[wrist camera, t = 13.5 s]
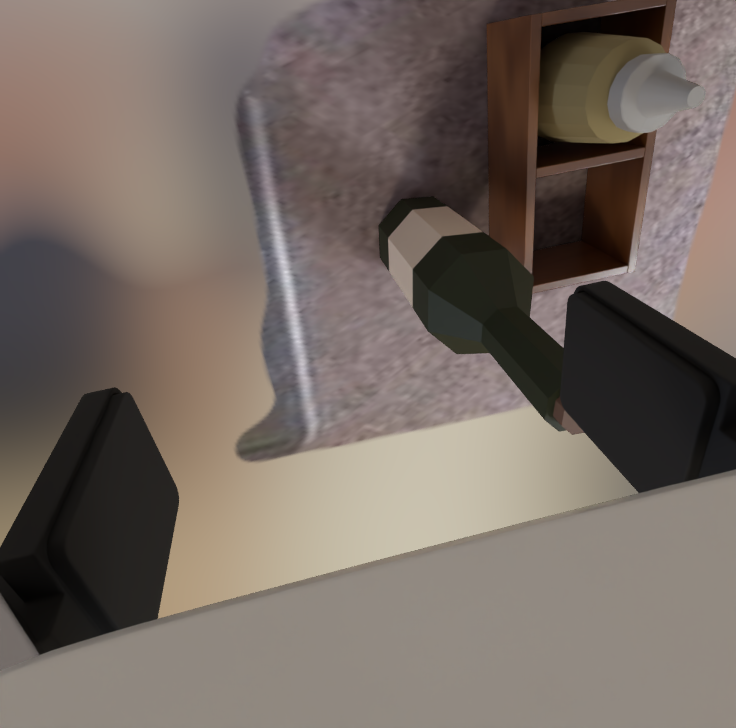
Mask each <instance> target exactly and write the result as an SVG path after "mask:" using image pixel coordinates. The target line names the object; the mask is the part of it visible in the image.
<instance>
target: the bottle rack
mask: <svg viewBox="0 0 736 728" xmlns="http://www.w3.org/2000/svg"><path fill="white" fill-rule="evenodd" d="M676 1H677V0H617V1H611V2H605V3H599V4H593V5H587V6H581V7H575V8H569V9H563V10H557V11H551V12H545V13H539V14H533V15H528V16H523V17H518V18H513V19H508V20H503V21H498V22H494V23H489V24H487V89H488V174H489V236H490V237H491V238H492V239H494V240H495V241H496V242H498V243H499V244H501V245H502V246H503V247H505V248H506V249H507V250H508V251H509V252H510V253H511V254H512V255H513V256H514V257H515V258H516V259H517V260H518V261H519V262H520V263H521V264H522V265H523V266H524V267H525V268H526V269H527V270H528V271H529V272H530V273H531V274H532V275H533V276H534V282H533V291H532V294H533V293H537V292H542V291H547V290H551V289H556V288H560V287H565V286H570V285H574V284H579V283H583V282H588V281H593V280H597V279H602V278H606V277H611V276H616V275H620V274H625V273H630V272H634V271H635V267H636V261H637V254H638V248H639V241H640V235H641V228H642V222H643V215H644V209H645V202H646V196H647V189H648V183H649V176H650V170H651V163H652V157H653V150H654V144H655V137H656V131H657V129H656V130H655V131H653V132H648V133H643V134H641V135H639V136H637V137H635V138H633V139H632V140H630V141H628V142H620V143H576V142H558V143H552V144H547V145H542V146H537V131H538V104H539V77H540V50H541V27H543V26H549V25H555V24H560V23H566V22H572V21H578V20H584V19H590V18H596V17H601V27H600V34H610V35H621V36H631V37H642V38H648V39H650V40H652V41H654V42H656V43H658V44H660V45H662V47H663V49H664V50H665V52H666V53H669V47H670V40H671V34H672V27H673V21H674V14H675V8H676ZM586 168H588V172H587V183H586V194H585V205H584V216H583V227H582V238H581V241H577V242H572V243H567V244H562V245H558V246H553V247H548V248H543V249H539V250H534V251H533V239H534V212H535V185H536V178H540V177H545V176H550V175H555V174H560V173H565V172H570V171H575V170H580V169H586Z"/></svg>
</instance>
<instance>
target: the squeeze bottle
mask: <svg viewBox="0 0 736 728" xmlns="http://www.w3.org/2000/svg"><path fill="white" fill-rule="evenodd" d="M704 98H705V89H704V87H702V86H700V85H698V84H695V83H693V82H690V81H688V80H686V71H685V68H684V66H683V65H682V63H681V61H680V59H679V58H677V57H675V56H673V55H671V54H670V53H666V52H665V50H664V49H663V47H662V45H660V44H658V43H656V42H654V41H652V40H650V39H648V38H642V37H631V36H621V35H610V34H600V33H590V32H577V33H565V34H564V35H562V36H560V37H558V38H557V39H555V40H553V41H551V42H550V43H548V44H547V45H546V46H545V47H544V48H543V49H542V50H541V51H540V77H539V104H538V131H537V135H538V136H539V137H542V138H544V139H547V140H549V141H552V142H576V143H620V142H628V141H630V140H632V139H633V138H635V137H637V136H639V135H641V134H643V133H648V132H653V131H655V130H656V129H658V128H660V127H662V126H664V125H665V124H666V123H667V122H668V121H669V120H670V119H671V118H672V117H673V116H674V114H675V113H676V112H678V111H683V110H687V109H692V108H696V107H698V106H699V105H700V104H701V103H702V102H703V100H704Z"/></svg>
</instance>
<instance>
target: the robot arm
mask: <svg viewBox="0 0 736 728" xmlns="http://www.w3.org/2000/svg"><path fill="white" fill-rule="evenodd" d="M560 400H561V403H562V406H563V408H564V410H565V411H566V412H567V414H568V415H569V416H570V417H571V418H572V419H573V420H574V421H575V422H576V424H577V425H578V426H579V427H580V428H581V429H582V430H583V431H584V432H585V433H586V435H587V436H588V437H589V438H590V439H591V440H592V441H593V442H594V444H595V445H596V446H597V447H598V448H599V449H600V450H601V451H602V452H603V454H604V455H605V456H606V457H607V458H608V459H609V460H610V461H611V462H612V464H613V465H614V466H615V467H616V468H617V469H618V470H619V471H620V472H621V473H622V475H623V476H624V477H625V478H626V479H627V480H628V481H629V483H631V485H632V486H633V487H634V488H635V489H636V490H637V491H638V494H634V495H630V496H626V497H622V498H619V499H614V500H610V501H606V502H602V503H598V504H594V505H591V506H587V507H583V508H579V509H575V510H571V511H567V512H563V513H559V514H555V515H551V516H547V517H543V518H539V519H535V520H531V521H527V522H523V523H520V524H516V525H512V526H508V527H504V528H501V529H497V530H493V531H489V532H485V533H481V534H477V535H473V536H469V537H465V538H462V539H458V540H454V541H450V542H446V543H442V544H438V545H434V546H430V547H427V548H423V549H419V550H415V551H411V552H407V553H404V554H400V555H396V556H392V557H388V558H384V559H380V560H376V561H373V562H369V563H365V564H361V565H357V566H354V567H350V568H346V569H342V570H338V571H335V572H331V573H327V574H323V575H320V576H316V577H312V578H308V579H305V580H301V581H297V582H293V583H289V584H285V585H282V586H278V587H274V588H270V589H267V590H263V591H259V592H255V593H251V594H248V595H244V596H240V597H236V598H233V599H229V600H225V601H222V602H218V603H214V604H210V605H206V606H203V607H199V608H195V609H192V610H188V611H185V612H181V613H177V614H174V615H170V616H167V617H163V618H159V619H157V618H158V613H159V608H160V602H161V597H162V591H163V586H164V581H165V576H166V570H167V564H168V559H169V554H170V548H171V543H172V538H173V532H174V527H175V521H176V516H177V511H178V505H179V495H178V491H177V487H176V485H175V483H174V481H173V478H172V477H171V474H170V472H169V470H168V468H167V466H166V464H165V462H164V460H163V458H162V456H161V454H160V452H159V450H158V448H157V446H156V444H155V442H154V440H153V438H152V436H151V434H150V432H149V430H148V428H147V425H146V423H145V422H144V419H143V417H142V415H141V413H140V411H139V409H138V407H137V405H136V403H135V401H134V399H133V397H132V396H131V394H130V393H128V392H125V393H121V391H120V390H118V389H117V388H110V389H105V390H101V391H96V392H91V393H87V394H84V395H83V397H82V398H81V400H80V402H79V403H78V405H77V407H76V409H75V411H74V413H73V415H72V417H71V418H70V420H69V422H68V424H67V426H66V427H65V429H64V431H63V433H62V435H61V437H60V438H59V440H58V442H57V444H56V446H55V448H54V450H53V451H52V453H51V455H50V457H49V459H48V460H47V463H46V464H45V466H44V468H43V470H42V472H41V473H40V475H39V477H38V479H37V481H36V483H35V484H34V486H33V488H32V490H31V492H30V494H29V496H28V497H27V499H26V501H25V503H24V505H23V506H22V508H21V510H20V512H19V514H18V516H17V517H16V519H15V521H14V523H13V525H12V527H11V529H10V531H9V532H8V534H7V536H6V538H5V540H4V541H3V543H2V545H1V547H0V728H736V358H734V357H733V356H731V355H729V354H728V353H726V352H724V351H723V350H721V349H719V348H718V347H716V346H714V345H712V344H711V343H709V342H708V341H706V340H704V339H703V338H701V337H699V336H698V335H696V334H694V333H693V332H691V331H689V330H688V329H686V328H685V327H683V326H681V325H679V324H678V323H676V322H675V321H673V320H671V319H670V318H668V317H666V316H665V315H663V314H661V313H660V312H658V311H656V310H655V309H653V308H651V307H650V306H648V305H646V304H645V303H643V302H641V301H640V300H638V299H637V298H635V297H633V296H632V295H630V294H628V293H627V292H625V291H623V290H622V289H620V288H618V287H617V286H615V285H613V284H612V283H610V282H608V281H601V282H596V283H592V284H587V285H582V286H579V287H577V288H576V290H575V292H574V294H572V295H570V296H569V298H568V302H567V314H566V327H565V339H564V352H563V364H562V377H561V389H560Z"/></svg>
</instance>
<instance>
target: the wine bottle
mask: <svg viewBox="0 0 736 728" xmlns="http://www.w3.org/2000/svg"><path fill="white" fill-rule="evenodd" d="M379 245H380V258H381V260H382V261H383V263H384V264H385V266H386V267H387V269H388V270H389V272H390V274H391V275H392V277H393V278H394V280H395V281H396V283H397V284H398V286H399V287H400V289H401V290H402V292H403V294H404V295H405V297H406V298H407V300H408V301H409V303H410V304H411V306H412V307H413V309H414V310H415V312H416V314H417V315H418V317H419V318H420V320H421V321H422V323H423V324H424V326H425V327H426V329H427V331H428V332H430V333H431V334H432V335H433V336H435V337H436V338H437V339H438V340H440V341H441V342H442V343H443V344H445V345H446V346H447V347H448V348H450V349H451V350H452V351H453V352H455V353H456V354H476V353H490V354H491V355H492V356H493V357H494V359H495V360H496V361H497V362H498V364H499V365H500V366H501V367H502V368H503V370H504V371H505V372H506V373H507V375H508V376H509V377H510V378H511V379H512V381H513V382H514V383H515V384H516V386H517V387H518V388H519V389H520V390H521V392H522V393H523V394H524V395H525V397H526V398H527V399H528V400H529V401H530V403H531V404H532V405H533V406H534V408H535V409H536V410H537V411H538V412H539V413H540V415H541V416H542V417H543V418H544V420H545V421H547V422H548V423H549V424H551V425H552V426H553V427H554V428H555V429H557V430H558V431H565V430H567V431H568V432H570V433H571V434H572V435H573V434H579V433H585V432H584V431H583V430H582V429H581V428H580V427H579V426H578V425H577V424H576V422H575V421H574V420H573V419H572V418H571V417H570V416H569V415H568V414H567V412H566V411H565V410H564V408H563V406H562V403H561V400H560V389H561V377H562V364H563V352H564V348H563V347H562V346H560V345H559V344H558V343H557V342H556V341H555V340H554V339H553V338H552V337H551V336H549V335H548V334H547V333H546V332H545V331H544V330H543V329H542V328H541V327H540V326H538V325H537V324H536V323H535V322H534V321H533V320H532V319H531V318H530V309H531V300H532V291H533V282H534V276H533V275H532V274H531V273H530V272H529V271H528V270H527V269H526V268H525V267H524V266H523V265H522V264H521V263H520V262H519V261H518V260H517V259H516V258H515V257H514V256H513V255H512V254H511V253H510V252H509V251H508V250H507V249H506V248H505V247H503V246H502V245H501V244H499V243H498V242H496V241H495V240H494V239H492V238H491V237H490V236H488V235H487V234H485V233H484V232H483V231H481V230H480V229H478V228H477V227H476V226H474V225H473V224H471V223H470V222H469V221H467V220H466V219H464V218H463V217H462V216H460V215H459V214H457V213H456V212H455V211H453V210H452V209H450V208H449V207H448V206H446V205H445V204H443V203H442V202H441V201H439V200H438V199H436V198H435V197H434V196H431V197H420V198H410V199H401V200H400V201H399V202H398V203H397V205H396V206H395V207H394V208H393V209H392V211H391V212H390V213H389V214H388V215H387V216H386V218H385V219H384V220H383V221H382V222H381V223H380V225H379Z"/></svg>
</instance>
